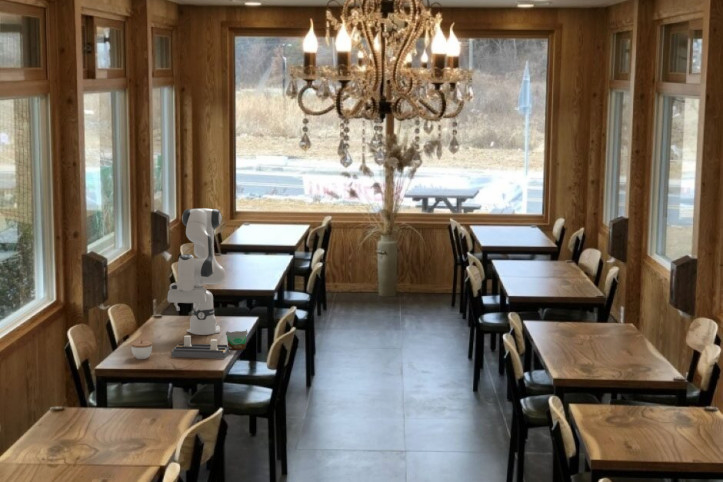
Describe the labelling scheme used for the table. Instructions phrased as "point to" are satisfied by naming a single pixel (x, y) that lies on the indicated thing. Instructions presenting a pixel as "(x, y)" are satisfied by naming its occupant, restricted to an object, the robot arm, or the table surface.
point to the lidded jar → (141, 349)
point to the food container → (236, 340)
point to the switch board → (200, 351)
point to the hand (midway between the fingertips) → (187, 310)
